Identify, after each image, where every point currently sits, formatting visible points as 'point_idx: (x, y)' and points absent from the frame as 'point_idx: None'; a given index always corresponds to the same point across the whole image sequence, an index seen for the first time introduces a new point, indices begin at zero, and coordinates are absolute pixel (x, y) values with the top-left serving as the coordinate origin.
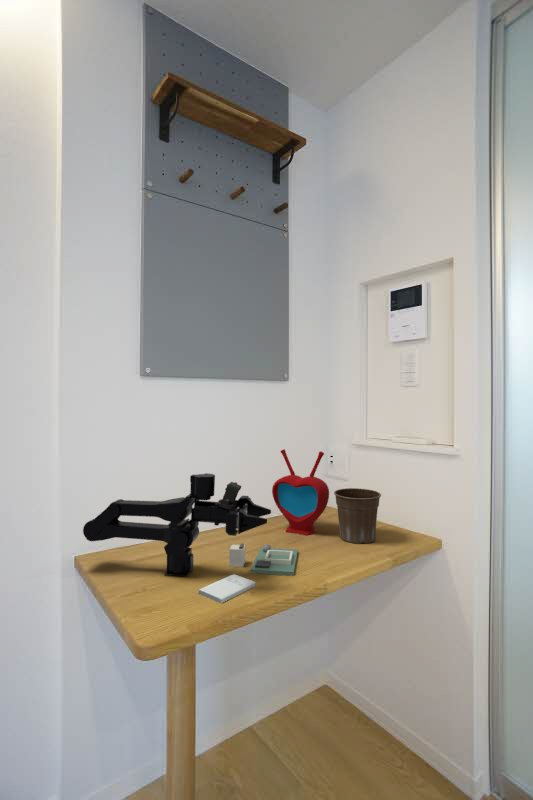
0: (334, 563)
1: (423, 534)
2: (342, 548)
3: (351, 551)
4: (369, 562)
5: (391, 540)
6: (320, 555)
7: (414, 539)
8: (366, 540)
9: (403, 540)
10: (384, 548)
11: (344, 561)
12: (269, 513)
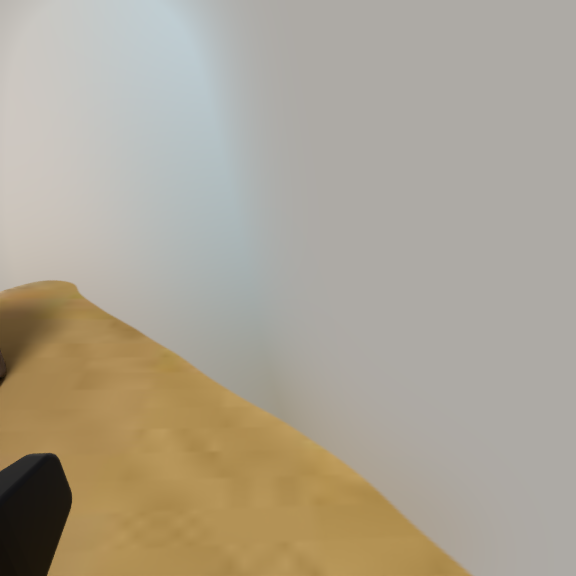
0: (170, 456)
1: (11, 289)
2: (9, 435)
3: (58, 410)
4: (180, 368)
5: (14, 330)
6: None
7: (36, 299)
8: (2, 365)
9: (30, 313)
10: (72, 342)
11: (155, 427)
12: (62, 514)
